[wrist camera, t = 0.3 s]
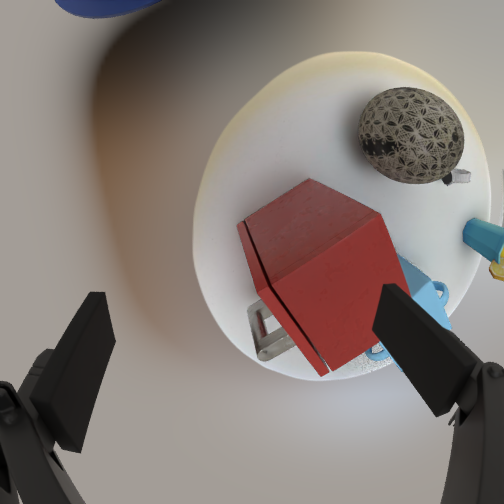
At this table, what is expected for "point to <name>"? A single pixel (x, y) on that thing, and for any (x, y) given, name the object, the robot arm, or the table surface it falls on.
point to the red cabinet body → (327, 265)
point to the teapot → (420, 301)
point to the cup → (487, 244)
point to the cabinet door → (275, 306)
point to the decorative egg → (411, 135)
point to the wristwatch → (457, 177)
